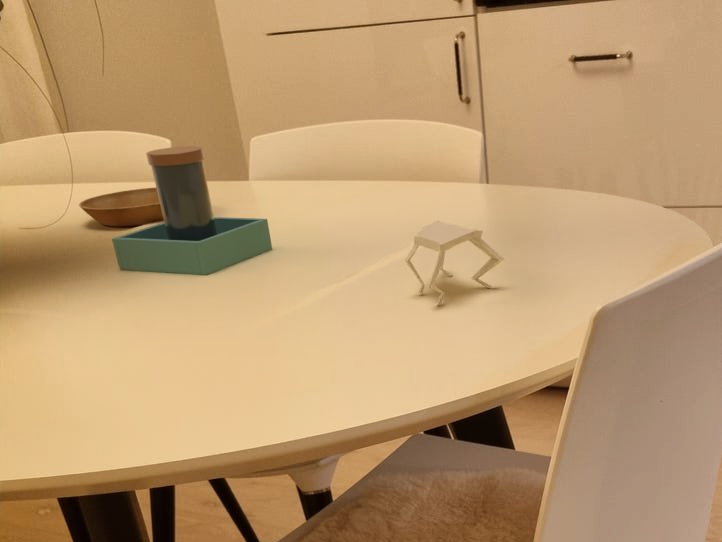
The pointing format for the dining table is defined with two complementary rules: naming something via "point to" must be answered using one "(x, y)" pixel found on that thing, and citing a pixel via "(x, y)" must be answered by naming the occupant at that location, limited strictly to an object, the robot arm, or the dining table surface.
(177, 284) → the dining table surface
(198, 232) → the jar
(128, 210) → the plant saucer
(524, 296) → the dining table surface
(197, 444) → the dining table surface
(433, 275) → the cream legged block
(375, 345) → the dining table surface
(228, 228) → the green shallow square box
